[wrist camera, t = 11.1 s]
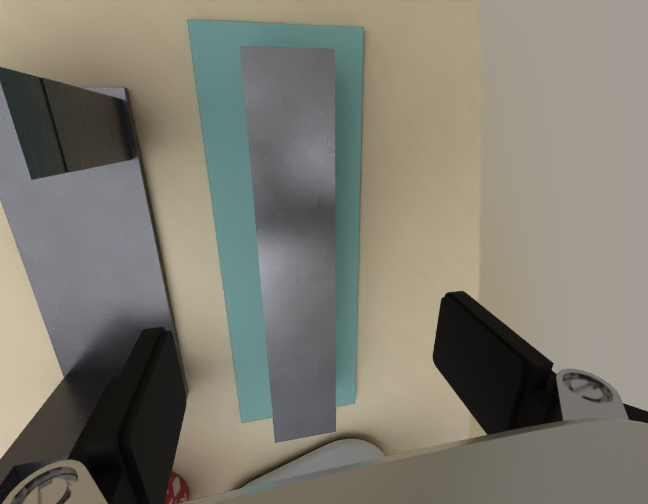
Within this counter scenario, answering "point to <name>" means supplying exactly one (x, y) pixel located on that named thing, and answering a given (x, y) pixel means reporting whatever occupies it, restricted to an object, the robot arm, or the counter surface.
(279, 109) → the rail
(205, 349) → the counter surface
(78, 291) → the brackets
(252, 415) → the mat
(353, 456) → the plastic bottle
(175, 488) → the mug
